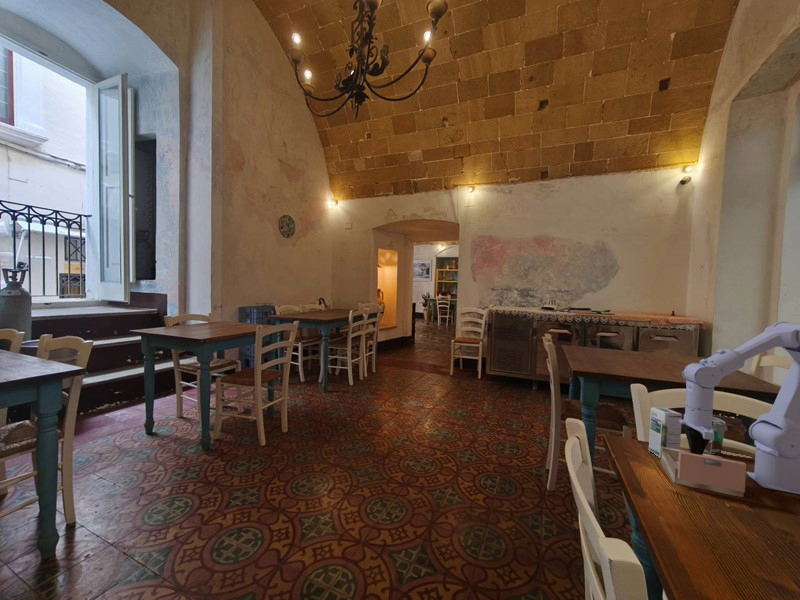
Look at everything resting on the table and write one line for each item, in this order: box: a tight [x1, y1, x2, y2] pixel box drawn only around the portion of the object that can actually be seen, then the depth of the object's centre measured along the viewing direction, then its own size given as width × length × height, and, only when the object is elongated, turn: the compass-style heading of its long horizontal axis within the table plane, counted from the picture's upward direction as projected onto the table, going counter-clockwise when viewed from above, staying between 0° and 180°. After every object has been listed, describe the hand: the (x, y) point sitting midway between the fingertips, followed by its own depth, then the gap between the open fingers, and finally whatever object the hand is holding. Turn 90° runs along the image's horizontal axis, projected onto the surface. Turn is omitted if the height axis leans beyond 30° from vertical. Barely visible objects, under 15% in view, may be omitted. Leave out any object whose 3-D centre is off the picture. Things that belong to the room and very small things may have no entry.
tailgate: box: [678, 451, 747, 493], centre depth 86 cm, size 13×2×7 cm, turn 67°
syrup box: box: [648, 406, 683, 459], centre depth 106 cm, size 6×6×14 cm
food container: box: [704, 415, 728, 455], centre depth 112 cm, size 12×6×10 cm, turn 168°
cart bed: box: [660, 447, 745, 498], centre depth 93 cm, size 14×12×5 cm
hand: (696, 455), depth 95 cm, fingers closed
